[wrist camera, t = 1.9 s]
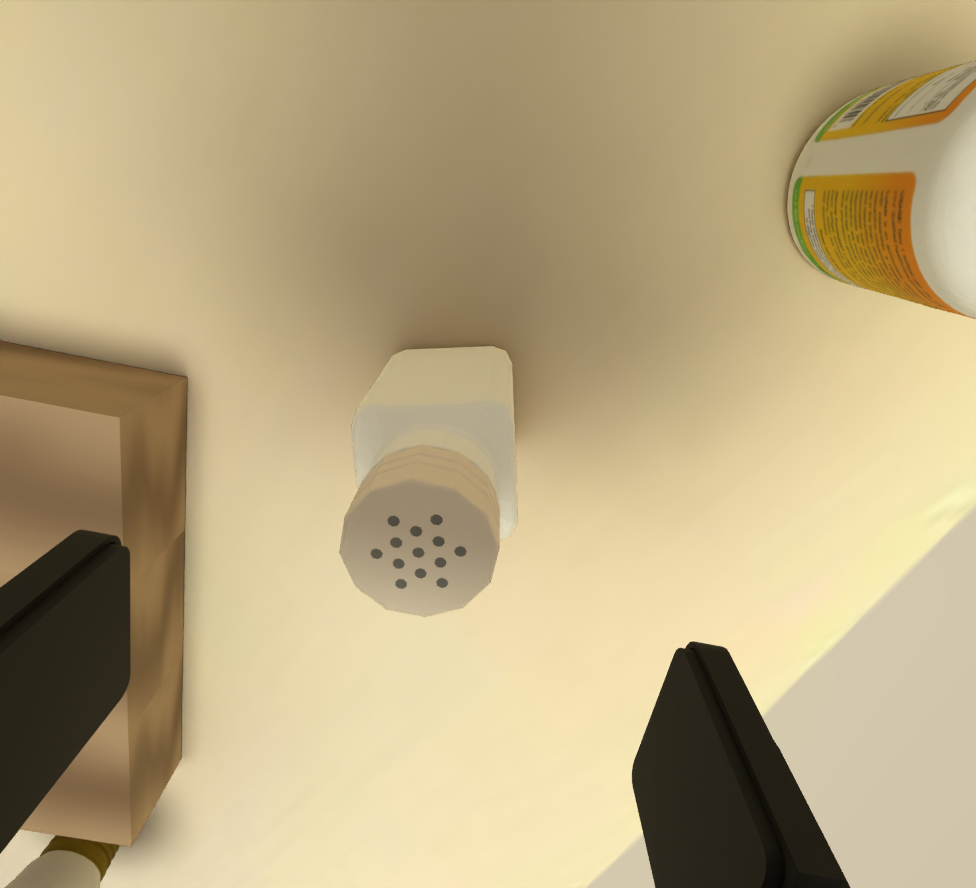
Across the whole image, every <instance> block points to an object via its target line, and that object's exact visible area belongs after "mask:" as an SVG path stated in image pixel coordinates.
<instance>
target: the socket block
mask: <svg viewBox="0 0 976 888" xmlns="http://www.w3.org/2000/svg"><path fill="white" fill-rule="evenodd" d="M186 419H187V377H182V376H176V375H171V374H166V373H161V372H156V371H151V370H146V369H141V368H136V367H130V366H125V365H120V364H115V363H110V362H105V361H100V360H95V359H89V358H84V357H79V356H74V355H69V354H64V353H59V352H54V351H49V350H43V349H38V348H33V347H28V346H23V345H18V344H13V343H8V342H3V341H0V587H2V586H3V585H4V584H6V583H7V582H8V581H10V580H11V579H12V578H14V577H15V576H16V575H17V574H19V573H20V572H21V571H23V570H24V569H25V568H27V567H28V566H29V565H31V564H32V563H33V562H35V561H36V560H37V559H39V558H40V557H41V556H43V555H44V554H45V553H47V552H48V551H49V550H51V549H52V548H53V547H55V546H56V545H57V544H59V543H60V542H61V541H63V540H64V539H65V538H67V537H68V536H69V535H71V534H72V533H73V532H75V531H77V530H88V531H94V532H99V533H105V534H110V535H116V536H117V537H119V539H120V541H121V544H122V546H126V547H127V548H128V549H129V551H130V642H131V674H130V681H129V684H128V687H127V690H126V691H125V693H124V695H123V697H122V698H121V700H120V701H119V702H118V704H117V705H116V706H115V707H114V709H113V710H112V711H111V713H110V714H109V715H108V716H107V718H106V719H105V720H104V722H103V723H102V724H101V725H100V727H99V728H98V729H97V731H96V732H95V733H94V734H93V736H92V737H91V738H90V739H89V741H88V742H87V743H86V745H85V746H84V747H83V748H82V750H81V751H80V752H79V754H78V755H77V756H76V757H75V759H74V760H73V761H72V763H71V764H70V765H69V766H68V768H67V769H66V770H65V772H64V773H63V774H62V775H61V777H60V778H59V779H58V780H57V782H56V783H55V784H54V786H53V787H52V788H51V789H50V791H49V792H48V793H47V795H46V796H45V797H44V798H43V800H42V801H41V802H40V804H39V805H38V806H37V807H36V809H35V810H34V811H33V813H32V814H31V815H30V816H29V818H28V819H27V820H26V821H25V823H24V824H23V825H22V827H21V828H20V829H21V830H28V831H34V832H40V833H47V834H53V835H59V836H66V837H72V838H79V839H85V840H91V841H98V842H104V843H110V844H117V845H123V846H129V847H132V845H133V843H134V841H135V840H136V838H137V836H138V834H139V833H140V831H141V829H142V827H143V825H144V824H145V822H146V820H147V818H148V817H149V815H150V813H151V811H152V810H153V808H154V806H155V804H156V803H157V801H158V799H159V797H160V796H161V794H162V792H163V790H164V789H165V787H166V785H167V783H168V781H169V780H170V778H171V776H172V774H173V773H174V771H175V769H176V767H177V766H178V764H179V762H180V760H181V731H182V668H183V606H184V543H185V481H186Z"/></svg>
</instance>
